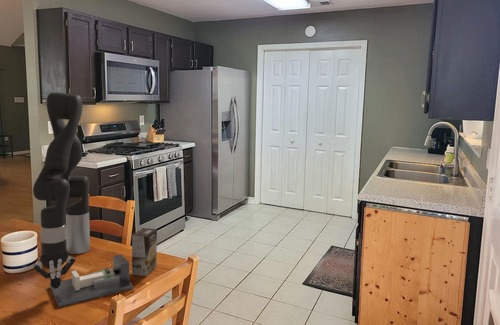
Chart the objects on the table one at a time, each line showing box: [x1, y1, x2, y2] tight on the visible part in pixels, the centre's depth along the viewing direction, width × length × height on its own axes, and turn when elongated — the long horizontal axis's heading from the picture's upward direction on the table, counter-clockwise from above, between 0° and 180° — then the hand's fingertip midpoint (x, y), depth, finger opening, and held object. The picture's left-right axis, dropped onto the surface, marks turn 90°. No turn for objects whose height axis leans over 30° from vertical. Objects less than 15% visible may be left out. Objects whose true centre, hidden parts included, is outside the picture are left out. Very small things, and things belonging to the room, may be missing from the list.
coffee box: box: [131, 227, 158, 277], centre depth 150 cm, size 9×6×16 cm
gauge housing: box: [49, 253, 134, 308], centre depth 135 cm, size 16×24×8 cm, turn 126°
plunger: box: [71, 267, 114, 291], centre depth 136 cm, size 6×13×5 cm, turn 126°
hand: (55, 287), depth 128 cm, fingers closed
